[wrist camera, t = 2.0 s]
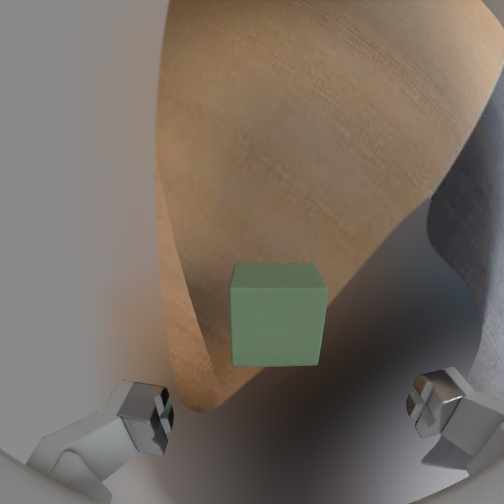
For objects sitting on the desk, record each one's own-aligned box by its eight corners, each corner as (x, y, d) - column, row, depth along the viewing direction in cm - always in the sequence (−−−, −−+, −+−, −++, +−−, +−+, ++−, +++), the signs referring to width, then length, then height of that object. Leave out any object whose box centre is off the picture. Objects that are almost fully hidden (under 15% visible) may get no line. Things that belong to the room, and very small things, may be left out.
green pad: (234, 262, 14) (228, 287, 11) (313, 263, 14) (329, 287, 11) (236, 331, 15) (231, 366, 12) (307, 330, 15) (318, 365, 12)
